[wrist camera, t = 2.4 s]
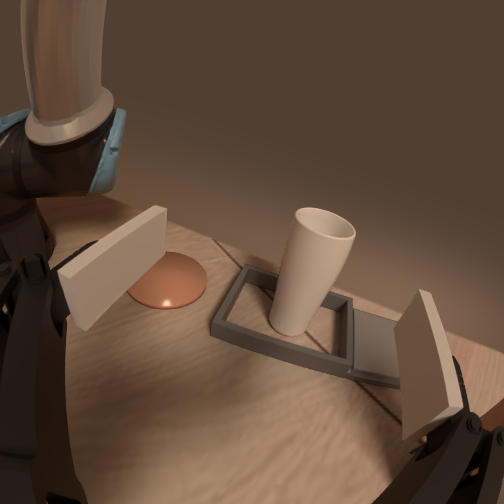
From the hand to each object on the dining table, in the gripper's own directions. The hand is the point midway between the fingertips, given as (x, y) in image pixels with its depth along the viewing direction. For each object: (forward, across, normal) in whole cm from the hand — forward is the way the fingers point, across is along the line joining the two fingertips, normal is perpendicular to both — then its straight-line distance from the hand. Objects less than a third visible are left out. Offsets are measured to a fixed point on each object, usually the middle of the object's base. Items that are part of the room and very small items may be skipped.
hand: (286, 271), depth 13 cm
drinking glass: (+16, +2, -18) cm, 24 cm away
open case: (+16, +10, -18) cm, 26 cm away
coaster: (+15, -16, -18) cm, 28 cm away
